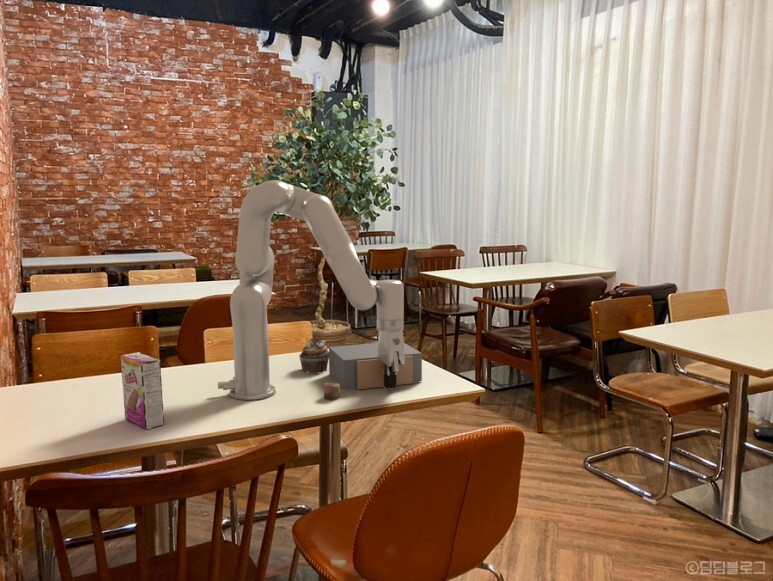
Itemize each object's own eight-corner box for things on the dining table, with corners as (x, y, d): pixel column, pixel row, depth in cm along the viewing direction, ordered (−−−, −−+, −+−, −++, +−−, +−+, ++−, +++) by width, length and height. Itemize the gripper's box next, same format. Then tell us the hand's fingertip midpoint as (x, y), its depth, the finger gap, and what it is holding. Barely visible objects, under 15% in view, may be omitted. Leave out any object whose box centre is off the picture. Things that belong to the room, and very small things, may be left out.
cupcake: (300, 366, 198) (299, 336, 197) (329, 365, 199) (329, 335, 198) (298, 374, 189) (298, 343, 187) (330, 373, 190) (329, 342, 188)
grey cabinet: (421, 381, 181) (421, 353, 180) (344, 390, 173) (344, 360, 172) (401, 367, 197) (401, 341, 195) (329, 374, 189) (328, 347, 187)
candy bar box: (123, 419, 149) (119, 355, 147) (143, 414, 153) (139, 351, 151) (145, 431, 142) (141, 363, 140) (165, 425, 146) (161, 358, 143)
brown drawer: (414, 384, 177) (414, 357, 176) (358, 390, 172) (358, 362, 170) (392, 368, 194) (392, 343, 193) (341, 373, 188) (341, 348, 187)
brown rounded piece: (326, 400, 164) (325, 388, 163) (322, 395, 168) (322, 383, 167) (341, 398, 165) (341, 386, 165) (337, 394, 169) (337, 382, 169)
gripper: (412, 328, 163) (412, 394, 166) (393, 318, 177) (393, 379, 180) (386, 330, 161) (386, 396, 163) (369, 320, 175) (369, 381, 177)
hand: (390, 387), depth 172 cm, fingers closed
